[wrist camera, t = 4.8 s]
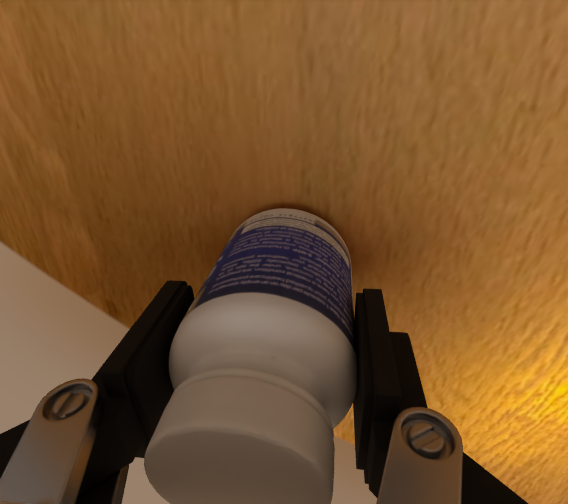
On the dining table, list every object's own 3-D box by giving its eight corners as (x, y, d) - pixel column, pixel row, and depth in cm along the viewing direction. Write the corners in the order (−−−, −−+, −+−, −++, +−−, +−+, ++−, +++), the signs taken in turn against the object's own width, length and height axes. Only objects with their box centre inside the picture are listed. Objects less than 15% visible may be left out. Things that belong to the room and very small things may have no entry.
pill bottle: (215, 209, 14) (68, 394, 6) (348, 200, 13) (365, 404, 5) (239, 314, 17) (154, 538, 9) (352, 312, 16) (367, 560, 8)
